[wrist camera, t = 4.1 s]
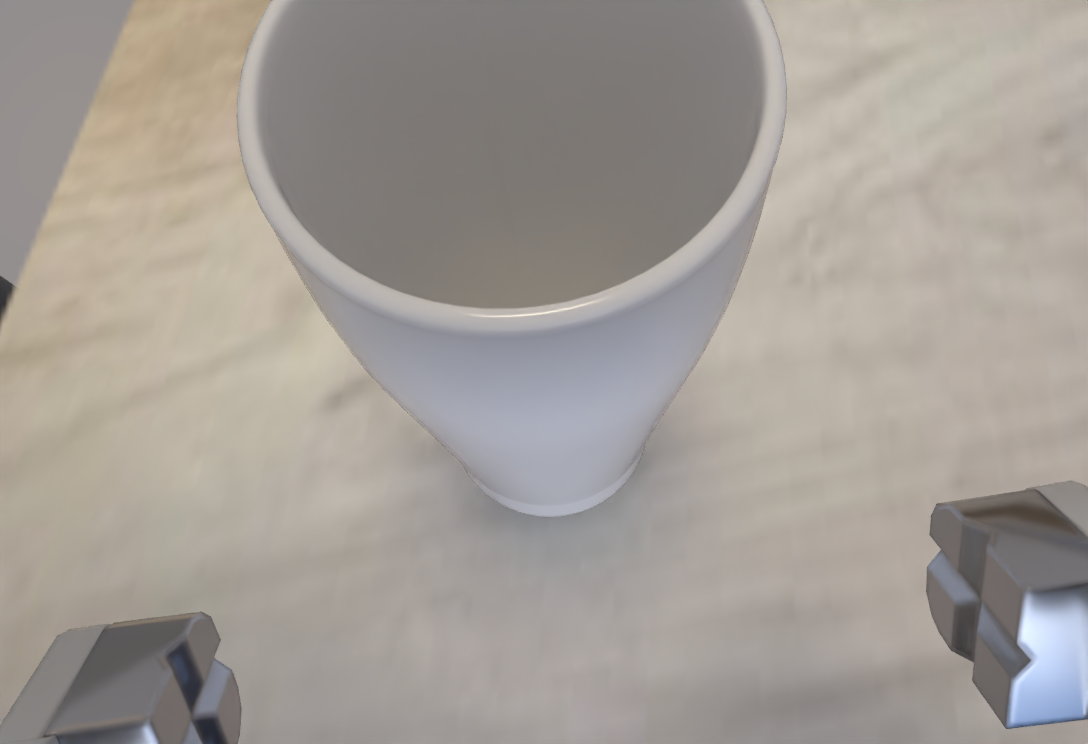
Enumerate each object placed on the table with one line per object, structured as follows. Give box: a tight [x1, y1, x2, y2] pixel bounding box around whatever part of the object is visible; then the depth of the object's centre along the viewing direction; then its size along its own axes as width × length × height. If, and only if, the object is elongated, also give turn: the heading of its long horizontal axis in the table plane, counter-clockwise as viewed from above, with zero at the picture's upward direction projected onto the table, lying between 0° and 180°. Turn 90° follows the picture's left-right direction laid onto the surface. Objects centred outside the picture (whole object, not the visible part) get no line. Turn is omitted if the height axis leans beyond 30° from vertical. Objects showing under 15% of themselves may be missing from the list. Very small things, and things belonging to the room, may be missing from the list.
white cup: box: [237, 0, 787, 517], centre depth 17 cm, size 7×7×15 cm
